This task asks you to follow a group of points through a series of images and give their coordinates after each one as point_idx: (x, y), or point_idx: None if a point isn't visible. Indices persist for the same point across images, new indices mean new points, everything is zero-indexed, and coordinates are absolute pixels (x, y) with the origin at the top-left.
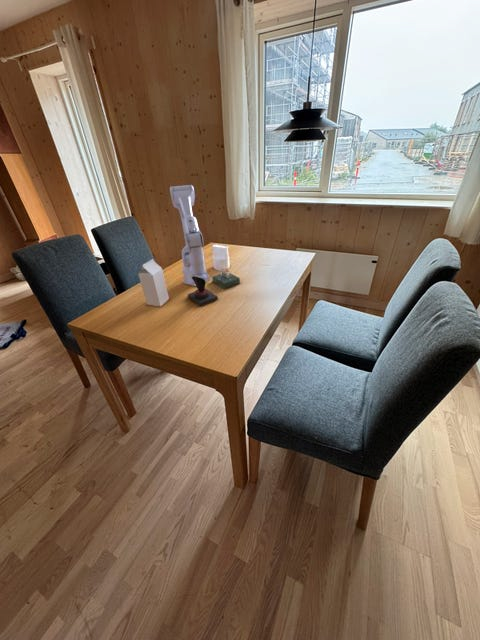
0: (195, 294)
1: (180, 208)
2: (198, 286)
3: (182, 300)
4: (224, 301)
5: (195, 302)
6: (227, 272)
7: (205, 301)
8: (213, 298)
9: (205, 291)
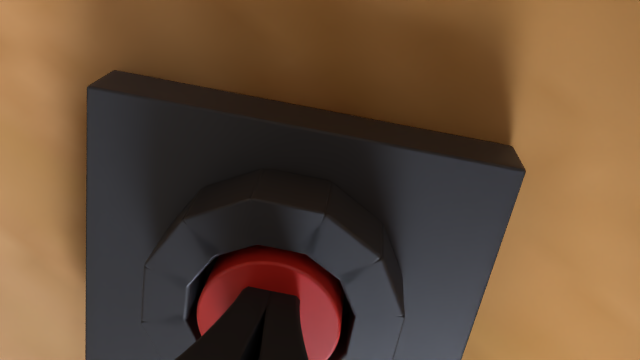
0: (282, 201)
1: None
2: (196, 356)
3: (523, 19)
4: (12, 344)
5: (254, 100)
6: None
7: (89, 185)
8: (89, 307)
9: None
